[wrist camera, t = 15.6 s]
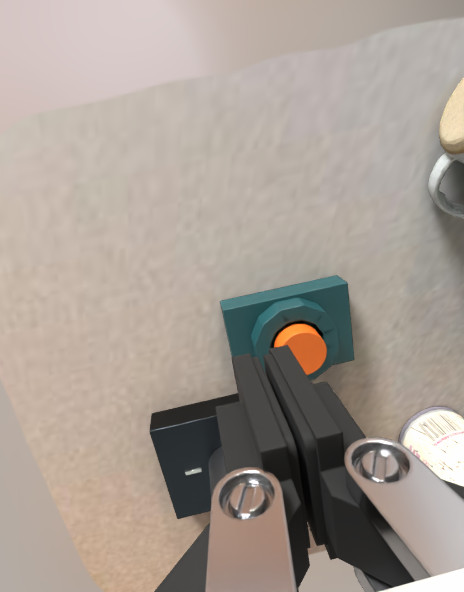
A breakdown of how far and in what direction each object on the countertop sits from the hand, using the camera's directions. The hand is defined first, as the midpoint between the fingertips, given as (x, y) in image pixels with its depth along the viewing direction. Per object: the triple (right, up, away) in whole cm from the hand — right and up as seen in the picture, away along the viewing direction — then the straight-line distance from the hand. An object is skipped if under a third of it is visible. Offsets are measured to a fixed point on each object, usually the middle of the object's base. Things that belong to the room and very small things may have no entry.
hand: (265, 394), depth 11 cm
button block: (+4, 0, +22) cm, 22 cm away
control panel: (-1, -11, +25) cm, 27 cm away
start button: (+4, -1, +18) cm, 19 cm away
